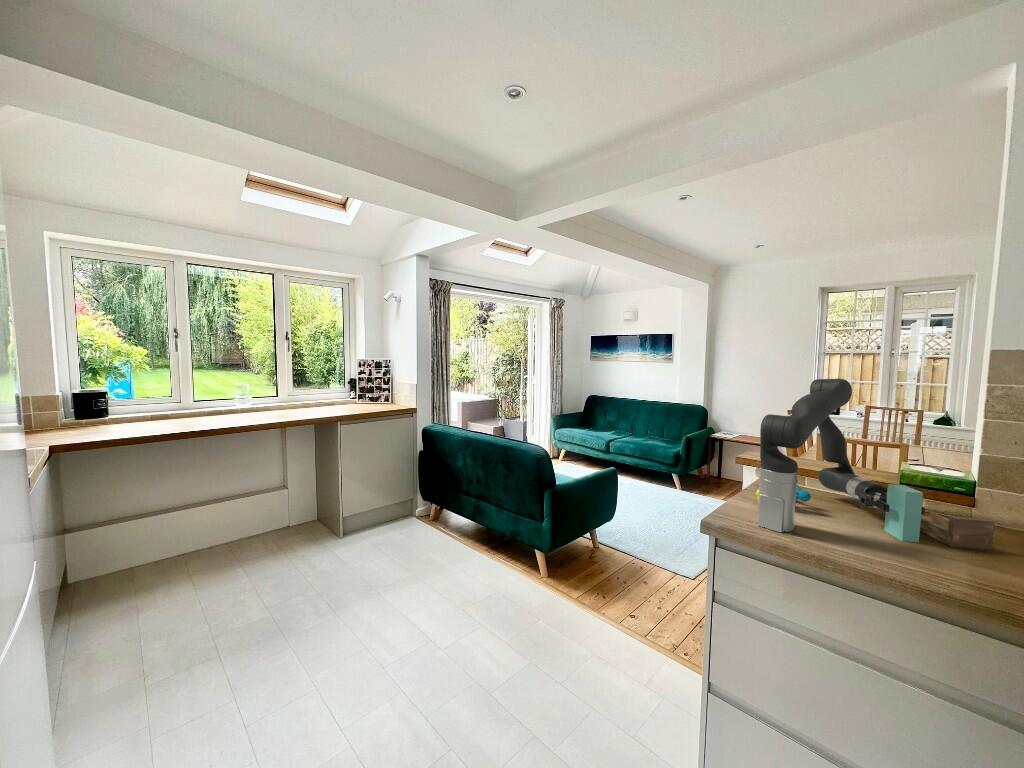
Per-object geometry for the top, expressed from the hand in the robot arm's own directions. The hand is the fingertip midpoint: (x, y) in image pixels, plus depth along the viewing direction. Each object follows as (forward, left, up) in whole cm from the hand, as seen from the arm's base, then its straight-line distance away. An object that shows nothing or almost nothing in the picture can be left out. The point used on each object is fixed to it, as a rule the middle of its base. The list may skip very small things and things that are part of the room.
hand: (905, 509), depth 116 cm
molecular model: (+2, +32, -8) cm, 33 cm away
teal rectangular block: (+1, +1, -8) cm, 8 cm away
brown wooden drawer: (+12, -7, -8) cm, 16 cm away
